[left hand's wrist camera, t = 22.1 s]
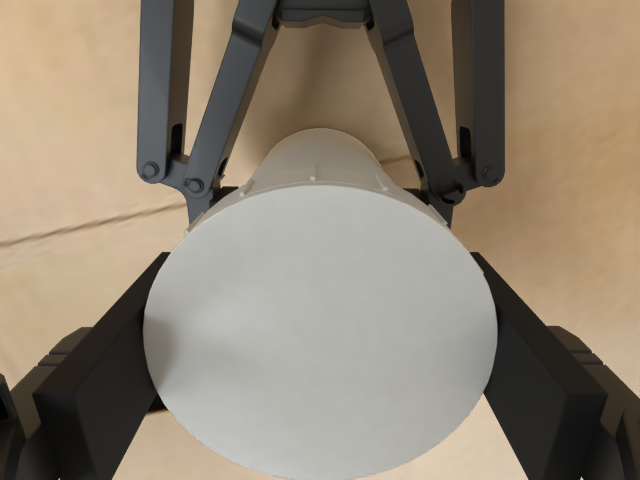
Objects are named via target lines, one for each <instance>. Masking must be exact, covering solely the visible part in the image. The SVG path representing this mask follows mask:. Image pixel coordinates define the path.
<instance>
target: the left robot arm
mask: <svg viewBox="0 0 640 480" xmlns="http://www.w3.org/2000/svg"><path fill="white" fill-rule="evenodd" d="M170 253H171V252H162V253H161V254H160V255H159V256H158V257H157V258H156V259H155V260H154V261H153V263H152V264H151V265H150V266H149V267H148V268H147V269H146V270H145V271H144V272H143V273H142V275H141V276H140V277H139V278H138V279H137V280H136V281H135V282H134V283H133V284H132V285H131V286H130V288H129V289H128V290H127V291H126V292H125V293H124V294H123V295H122V296H121V297H120V298H119V300H118V301H117V302H116V303H115V304H114V305H113V306H112V307H111V308H110V309H109V310H108V311H107V313H106V314H105V315H104V316H103V317H102V318H101V319H100V320H99V321H98V322H97V323H96V324H95V326H94V327H81V328H80V329H78V330H76V331H75V332H73V333H71V334H70V335H68V336H66V337H65V338H63V339H62V340H61V341H60V342H59V343H58V344H57V345H56V346H55V347H54V348H53V349H52V350H51V351H50V352H49V355H46V356H45V357H44V358H43V359H42V360H41V361H40V362H39V363H38V366H35V367H34V368H33V369H32V370H31V371H30V372H29V373H28V374H27V375H26V376H25V377H24V378H23V379H22V380H21V381H20V382H19V383H18V384H17V385H16V386H15V387H14V388H13V389H12V390H11V391H9V388H8V385H7V382H6V380H5V377H4V375H2V374H1V373H0V480H58V479H59V478H60V480H112V478H113V476H114V474H115V472H116V470H117V468H118V466H119V465H120V463H121V461H122V459H123V457H124V455H125V453H126V451H127V449H128V447H129V445H130V443H131V442H132V440H133V438H134V436H135V434H136V432H137V430H138V428H139V426H140V424H141V422H142V420H143V419H144V417H145V415H146V413H147V411H148V409H149V407H150V405H151V403H152V401H153V399H154V397H155V396H156V394H157V390H156V388H155V386H154V384H153V381H152V378H151V376H150V373H149V370H148V366H147V360H146V355H145V350H144V343H143V323H144V313H145V307H146V304H147V300H148V296H149V293H150V289H151V287H152V285H153V282H154V280H155V278H156V276H157V274H158V272H159V270H160V268H161V267H162V265H163V264H164V262H165V261H166V259H167V258H168V256H169V255H170ZM469 253H470V254H471V256H472V257H473V259H474V260H475V261H476V263H477V264H478V265H479V267H480V268H481V269H482V270H483V273H484V274H483V275H484V277H485V279H486V281H487V283H488V285H489V288H490V291H491V295H492V298H493V301H494V304H495V310H496V317H497V324H498V335H497V347H496V353H495V358H494V363H493V368H492V372H491V375H490V378H489V381H488V383H487V385H486V387H485V389H484V391H483V393H484V395H485V397H486V399H487V401H488V403H489V405H490V407H491V408H492V410H493V412H494V414H495V416H496V418H497V420H498V422H499V424H500V426H501V428H502V430H503V431H504V433H505V435H506V437H507V439H508V441H509V443H510V445H511V447H512V449H513V451H514V453H515V454H516V456H517V458H518V460H519V462H520V464H521V466H522V468H523V470H524V472H525V474H526V476H527V477H528V479H529V480H580V478H581V477H582V478H583V480H640V398H639V397H638V396H637V395H636V394H634V393H633V392H632V391H631V390H630V389H629V388H628V387H627V386H626V385H625V384H624V383H623V382H622V381H621V380H620V379H619V378H618V377H617V376H616V375H615V374H614V373H613V372H612V371H611V370H610V369H609V368H608V367H607V366H606V365H603V362H602V361H601V360H600V359H599V358H598V357H597V356H596V355H595V354H594V353H592V351H591V350H590V349H589V348H588V347H587V346H586V345H585V344H584V343H583V342H582V341H581V340H580V339H579V338H578V337H577V336H575V335H573V334H572V333H570V332H568V331H567V330H565V329H563V328H562V327H560V326H546V325H545V324H544V323H543V322H542V321H541V320H540V319H539V318H538V317H537V315H536V314H535V313H534V312H533V311H532V310H531V309H530V308H529V307H528V306H527V305H526V304H525V302H524V301H523V300H522V299H521V298H520V297H519V296H518V295H517V294H516V293H515V292H514V291H513V289H512V288H511V287H510V286H509V285H508V284H507V283H506V282H505V281H504V280H503V279H502V277H501V276H500V275H499V274H498V273H497V272H496V271H495V270H494V269H493V268H492V267H491V266H490V264H489V263H488V262H487V261H486V260H485V259H484V258H483V257H482V256H481V255H480V254H479V252H469Z"/></svg>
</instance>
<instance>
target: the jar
mask: <svg viewBox="0 0 640 480" xmlns="http://www.w3.org/2000/svg"><path fill="white" fill-rule="evenodd" d="M312 165H316V168H326V167H329V168H338V169H347V170H353V171H357V172H361V173H365V174H369V175H373V176H375V175H376V174H379V175H380V176H381V178H382V179H383V180H386V181H388V182H391V183H393V181H392V180H391V178H390V177H389V176H388V174H387V173H386V172H385V170H384V169H383V167H382V166H381V165H380V163H379V162H378V160H377V159H376V158H375V156H374V155H373V153H372V152H371V151H370V150H369V149H368V148H367V147H366V146H365V145H364V144H363V143H362V142H361V141H359V140H358V139H356V138H355V137H353V136H351V135H349V134H347V133H345V132H342V131H339V130H335V129H329V128H312V129H306V130H302V131H298V132H296V133H294V134H291V135H289V136H288V137H286V138H284V139H283V140H281V141H280V142H279V143H277V144H276V145H275V146H274V147H273V148H272V149H271V150H270V152H269V153H268V154H267V156H266V157H265V158H264V160H263V161H262V163H261V164H260V165H259V167H258V168H257V169H256V171H255V172H254V174H253V175H252V176H251V178H250V179H252V178H253V180H254V181H255V180H257V179H259V178H262V177H265V176H269V175H272V174H275V173H279V172H282V171H288V170H295V169H301V168H311V166H312ZM393 184H394V183H393Z"/></svg>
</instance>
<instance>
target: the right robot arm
mask: <svg viewBox="0 0 640 480" xmlns="http://www.w3.org/2000/svg"><path fill="white" fill-rule="evenodd" d="M193 17H194V0H141V20H140V57H139V93H138V130H137V173H138V174H139V176H140V178H141V179H143V180H144V181H145V182H148V183H150V184H156V183H158V182H159V183H162V184H165V185H168V186H170V187H173V188H175V189H177V190H179V191H180V192H181V193H182V194H183V195H184V197H185V199H186V201H187V207H188V215H189V224H190V225H191V224H192V223H193V221H194V220H195V219H196V218H197V217H198V216H199V215H200V214H201V213H202V212H203V213H204V214H205V213H206V212H207V211H208V210H209V209H210V208H212V207H213V206H214V205H215V204H216V203H218V202H219V201H220V200H221V199H222V198H224V197H225V196H227V195H228V194H230V193H232V192H233V191H235V190H237V189H238V187H229V186H223V187H222V188H221V186H220V181H221V180H222V179H223V177H224V176H225V175H223V173H224V171H225V168H226V165H227V163H228V160H229V157H230V155H231V152H232V149H233V147H234V144H235V142H236V139H237V136H238V134H239V131H240V128H241V126H242V123H243V120H244V118H245V115H246V112H247V110H248V107H249V104H250V102H251V99H252V96H253V94H254V91H255V88H256V86H257V83H258V80H259V78H260V75H261V72H262V70H263V67H264V64H265V62H266V59H267V56H268V54H269V52H270V50H271V48H272V46H273V44H274V42H275V40H276V37H277V34H278V32H279V29H280V26H281V24H282V25H284V26H285V27H286V28H306V27H309V26H312V25H316V24H319V23H326V24H329V25H332V26H335V27H338V28H346V29H360V27H361V26H363V25H364V27H365V30H366V33H367V35H368V38H369V41H370V44H371V46H372V48H373V50H374V52H375V54H376V56H377V59H378V62H379V65H380V68H381V71H382V74H383V76H384V79H385V82H386V85H387V88H388V91H389V94H390V97H391V99H392V102H393V105H394V108H395V111H396V114H397V117H398V119H399V122H400V125H401V128H402V131H403V134H404V137H405V140H406V142H407V145H408V148H409V151H410V154H411V157H412V160H413V163H414V165H415V168H416V171H417V174H418V177H419V180H420V182H421V189H420V190H419V189H408V188H403V189H404V190H406V191H407V192H409V193H411V194H413V195H414V196H415V197H416V198H418V199H419V200H420V201H422V202H423V203H424V204H426V205H427V206H428V205H429V204H430V205H432V206H433V207H434V209H435V210H436V211H437V212H438V213H439V214H440V215H441V216H442V218H443V219H444V220H445V221H446V222H447V223H448V224H447V225H446V226H447V227H448V228H449V229H450V228H451V221H452V213H453V206H456V205H457V204H459V203H461V201H462V200H463V199H464V197H465V194H466V191H468V190H471V189H474V188H477V187H480V186H484V187H492V186H495V185H497V184H498V183H499V182H501V180H502V178H503V177H504V172H505V75H504V0H452V2H451V23H452V45H453V67H454V89H455V111H456V133H457V155H458V157H457V158H454V159H452V156H451V153H450V150H449V147H448V144H447V140H446V137H445V134H444V131H443V128H442V124H441V121H440V118H439V115H438V111H437V108H436V105H435V102H434V99H433V95H432V92H431V89H430V86H429V83H428V79H427V76H426V73H425V70H424V67H423V63H422V60H421V57H420V54H419V51H418V47H417V44H416V41H415V38H414V27H413V21H412V17H411V14H410V11H409V7H408V4H407V1H406V0H239V3H238V6H237V9H236V12H235V15H234V19H233V23H232V33H231V37H230V40H229V43H228V46H227V48H226V51H225V54H224V57H223V60H222V63H221V66H220V69H219V72H218V75H217V78H216V81H215V84H214V87H213V90H212V93H211V96H210V98H209V101H208V104H207V107H206V110H205V113H204V116H203V119H202V122H201V125H200V128H199V131H198V134H197V137H196V140H195V143H194V146H193V149H192V151H191V154H190V156H187V155H185V154H184V146H185V132H186V117H187V103H188V89H189V75H190V60H191V46H192V32H193Z"/></svg>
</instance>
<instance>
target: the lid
mask: <svg viewBox="0 0 640 480" xmlns="http://www.w3.org/2000/svg"><path fill="white" fill-rule="evenodd" d="M447 224H448V223H447V222H446V221H445V220H444V219H443V218H442V216H441V215H440V214H439V213H438V212H437V211H436V210H435V209H434V207H433V206H432V205H430V204H429V205H428V206H427V205H426V204H424V203H423V202H422V201H420V200H419V199H418V198H416V197H415V196H414V195H413V194H411V193H409V192H407V191H406V190H404V189H402V188H400V187H399V186H397V185H395V184H393V183H391V182H388V181H386V180H383V179H382V178H381V176H380V175H379V174H376V175H375V176H373V175H369V174H365V173H361V172H357V171H353V170H347V169H338V168H329V167H326V168H316V165H312V166H311V168H301V169H295V170H288V171H282V172H279V173H275V174H272V175H269V176H265V177H262V178H259V179H257V180H255V181H254V180H253V178H252V179H249V180H248V182H247V183H246V185H244V186H241V187H240V188H238V189H237V190H235V191H233V192H232V193H230V194H228V195H227V196H225V197H224V198H222V199H221V200H220V201H219V202H218V203H216V204H215V205H214V206H213V207H212V208H210V209H209V210H208V211H207V212H206V213H205V214H204V213H203V212H202V213H201V214H200V215H199V216H198V217H197V218H196V219H195V220H194V221H193V223H192V224H191V225H190V226H189V227H188V228H187V229H186V230H185V231H184V233H185V234H186V236H185V237H184V238H183V239H182V240H181V242H180V243H179V244H178V245H177V246H176V247H175V248H174V250H173V251H172V252H171V253H170V255H169V256H168V258H167V259H166V261H165V262H164V264H163V265H162V267H161V268H160V270H159V272H158V274H157V276H156V278H155V280H154V282H153V285H152V287H151V289H150V293H149V296H148V300H147V304H146V307H145V313H144V323H143V343H144V350H145V355H146V360H147V366H148V370H149V373H150V376H151V378H152V381H153V384H154V386H155V388H156V390H157V392H158V394H159V395H160V397H161V399H162V401H163V403H164V404H165V406H166V407H167V408H168V410H169V411H170V412H171V414H172V415H173V416H174V418H175V419H176V420H177V421H178V422H179V423H180V424H181V425H182V426H183V427H184V428H185V429H186V431H187V432H188V433H190V434H191V435H192V436H193V437H194V438H196V439H197V440H198V441H199V442H201V443H202V444H203V445H204V446H206V447H208V448H209V449H211V450H212V451H214V452H215V453H217V454H218V455H220V456H222V457H224V458H226V459H228V460H230V461H232V462H234V463H236V464H238V465H241V466H243V467H246V468H248V469H251V470H254V471H257V472H260V473H264V474H267V475H271V476H275V477H281V478H286V479H292V480H348V479H355V478H360V477H365V476H370V475H374V474H377V473H380V472H384V471H387V470H390V469H393V468H395V467H398V466H400V465H402V464H405V463H407V462H409V461H411V460H413V459H415V458H417V457H419V456H420V455H422V454H424V453H426V452H427V451H429V450H430V449H432V448H433V447H435V446H436V445H437V444H439V443H440V442H442V441H443V440H444V439H445V438H446V437H447V436H449V435H450V434H451V433H452V432H453V431H454V430H455V429H456V428H457V427H458V426H459V425H460V424H461V423H462V422H463V421H464V420H465V418H466V417H467V416H468V415H469V414H470V412H471V411H472V409H473V408H474V406H475V405H476V403H477V402H478V401H479V399H480V397H481V395H482V393H483V391H484V389H485V387H486V385H487V383H488V381H489V378H490V375H491V372H492V368H493V363H494V358H495V353H496V347H497V335H498V324H497V317H496V310H495V304H494V301H493V298H492V295H491V291H490V288H489V285H488V283H487V281H486V279H485V277H484V275H483V274H484V273H483V270H482V269H481V268H480V267H479V265H478V264H477V263H476V261H475V260H474V259H473V257H472V256H471V254H470V253H469V252H468V250H467V249H466V247H465V246H464V245H463V244H462V243H461V242H460V241H459V239H458V238H457V237H456V236H455V235H454V234H453V232H452V231H451V230H450V229H449V228H448V227H447V226H446V225H447Z"/></svg>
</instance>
